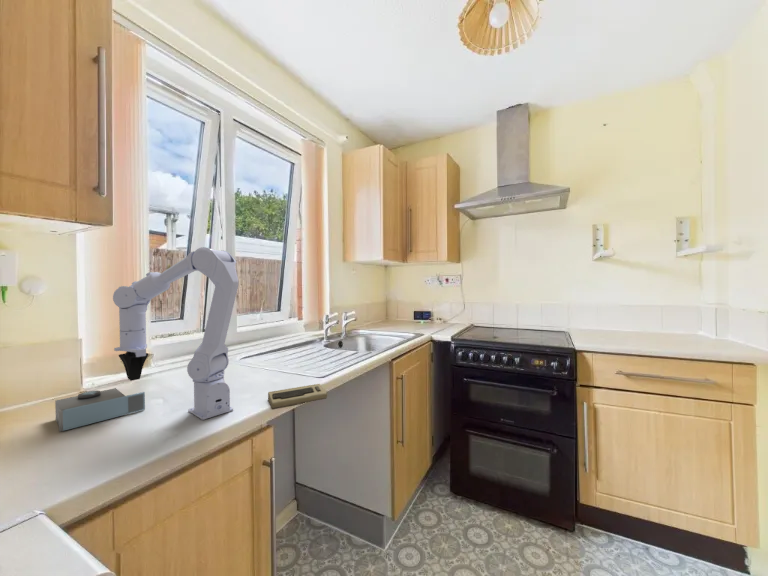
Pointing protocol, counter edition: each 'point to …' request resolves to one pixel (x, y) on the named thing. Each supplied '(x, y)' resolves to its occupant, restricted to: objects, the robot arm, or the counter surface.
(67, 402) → the camera body
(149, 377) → the counter surface
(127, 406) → the side door
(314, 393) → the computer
